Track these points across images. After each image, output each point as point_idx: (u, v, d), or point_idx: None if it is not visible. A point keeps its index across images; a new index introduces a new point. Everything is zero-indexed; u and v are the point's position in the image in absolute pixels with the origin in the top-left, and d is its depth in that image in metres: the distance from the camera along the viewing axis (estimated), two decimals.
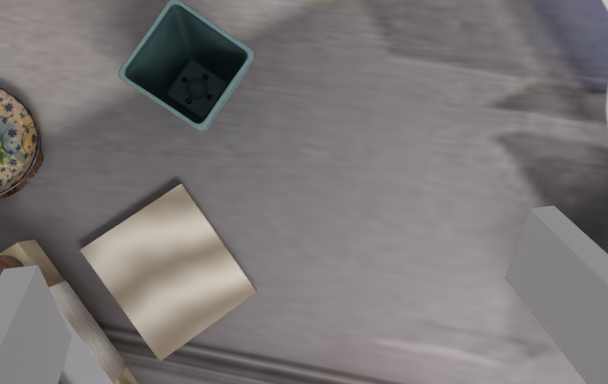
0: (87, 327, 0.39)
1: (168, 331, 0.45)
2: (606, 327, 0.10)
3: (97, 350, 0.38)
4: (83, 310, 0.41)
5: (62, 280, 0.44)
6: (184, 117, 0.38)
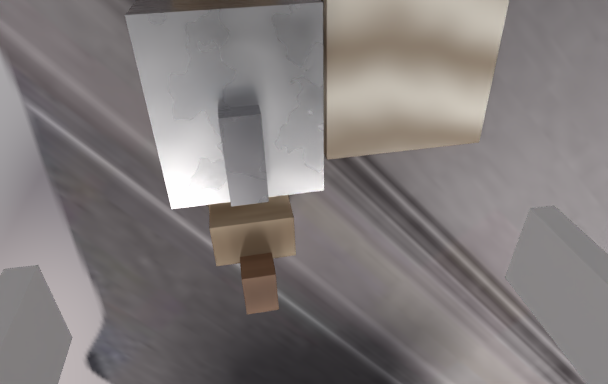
0: None
1: (359, 131, 0.31)
2: (605, 327, 0.10)
3: None
4: None
5: None
6: None
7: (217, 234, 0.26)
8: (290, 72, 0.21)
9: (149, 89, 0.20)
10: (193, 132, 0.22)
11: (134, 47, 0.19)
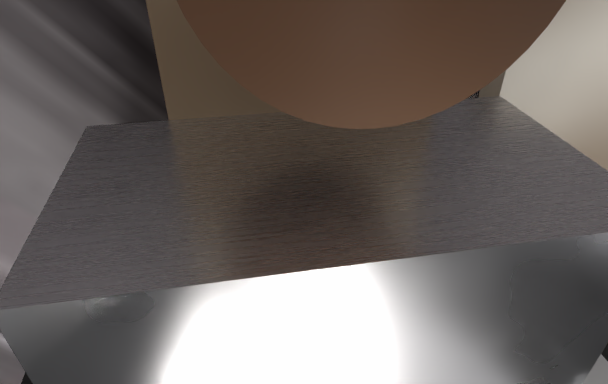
0: None
1: None
2: None
3: None
4: None
5: None
6: None
7: None
8: (510, 375, 0.07)
9: None
10: None
11: None
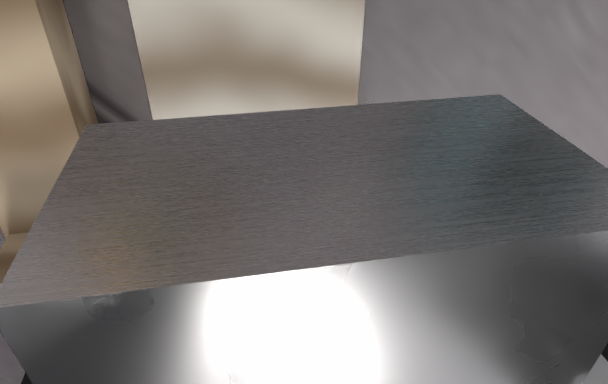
0: None
1: None
2: None
3: None
4: None
5: None
6: None
7: None
8: (511, 374, 0.07)
9: None
10: None
11: (38, 383, 0.05)
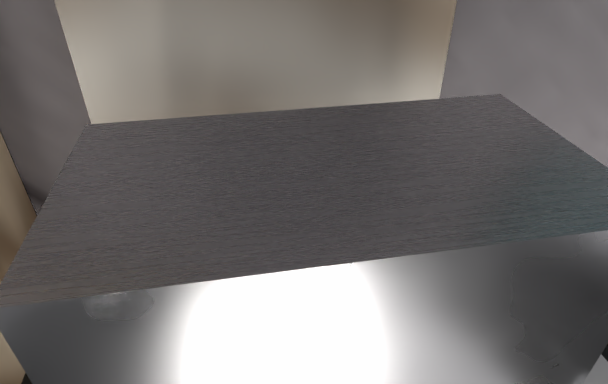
0: None
1: None
2: None
3: None
4: None
5: None
6: None
7: None
8: (511, 374, 0.07)
9: None
10: None
11: (38, 383, 0.05)
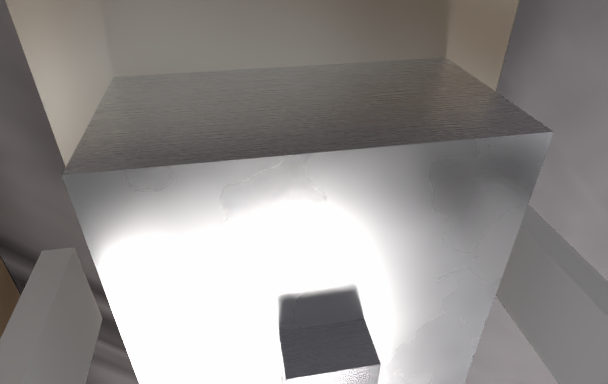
0: None
1: None
2: (564, 314, 0.10)
3: None
4: None
5: None
6: None
7: None
8: (442, 263, 0.09)
9: (129, 312, 0.09)
10: (224, 370, 0.10)
11: (90, 240, 0.08)
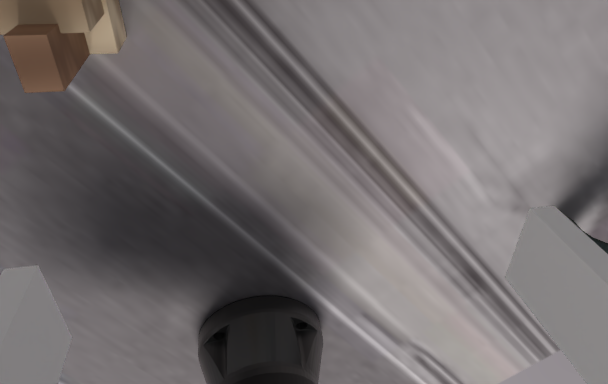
0: None
1: None
2: (606, 327, 0.10)
3: None
4: None
5: None
6: None
7: None
8: None
9: None
10: None
11: None
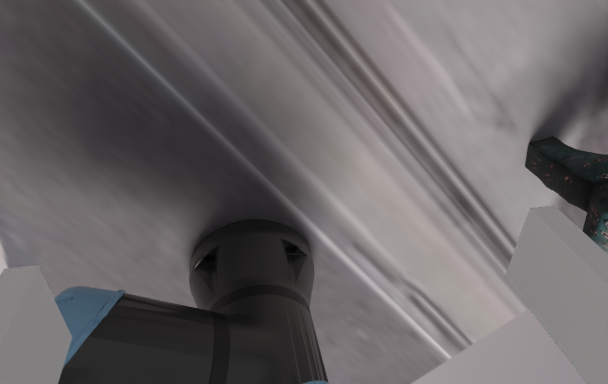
0: None
1: None
2: (606, 327, 0.10)
3: None
4: None
5: None
6: None
7: None
8: None
9: None
10: None
11: None
